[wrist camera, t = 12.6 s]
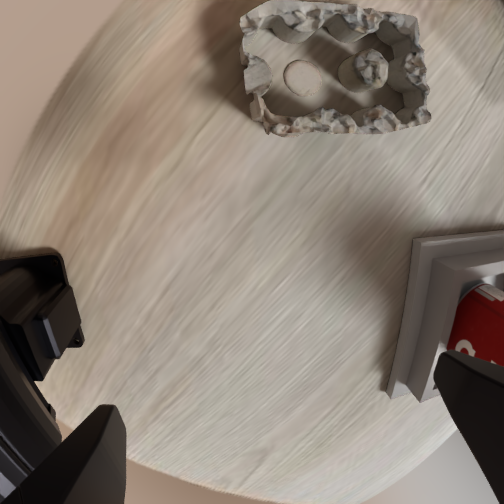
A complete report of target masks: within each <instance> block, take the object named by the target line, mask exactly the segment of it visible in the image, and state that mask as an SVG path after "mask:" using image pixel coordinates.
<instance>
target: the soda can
mask: <svg viewBox="0 0 504 504" xmlns="http://www.w3.org/2000/svg"><path fill="white" fill-rule="evenodd" d="M446 350H456V351H459V352H462V353H464V354H467V355H470V356H473V357H476V358H479V359H482V360H485V361H488V362H491V363H494V364H497V365H500V366H503V367H504V292H503V291H501V290H499V289H497V288H496V287H494V286H492V285H490V284H488V283H480V284H477V285H475V286H473V287H472V288H471V289H469V290H468V291H467V292H466V293H465V294H464V295H463V296H462V297H461V298H460V300H459V301H458V305H457V309H456V314H455V318H454V322H453V326H452V330H451V333H450V337H449V341H448V344H447V348H446Z"/></svg>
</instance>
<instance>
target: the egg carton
mask: <svg viewBox="0 0 504 504" xmlns="http://www.w3.org/2000/svg"><path fill="white" fill-rule="evenodd" d="M239 23H240V27H241V29H242V32H243V33H244V37H243V39H242V40H243V41H242V43H241V46H240V48H239V53H240V62H241V64H242V65H247V66H248V67H247V69H245V70H244V80H245V89H246V94H247V95H248V94H249V93H252V94H253V95H254V100H253V101H252V102H251V103H250V111H251V117H252V120H253V121H259V122H263V124H264V129H265V132H266V134H268V135H269V134H270V133H271V132H272V133H274V134H276V135H278V136H281V137H295V136H299V134H302V133H303V132H329V133H328V134H337V133H359V134H383V133H388V132H392V131H397V130H401V129H405V128H409V127H414V126H417V125H421V124H425V123H428V122H430V120H431V114H430V112H428V110H427V106H426V99H427V95H428V94H429V93H430V88H429V86H428V85H427V83H426V70H427V69H426V67H425V63H424V50H423V49H422V48H421V46H420V45H419V26H418V20H417V18H416V17H414V16H410V15H405V14H399V13H393V12H380V11H375V10H374V9H372V8H368V9H362V8H360V7H359V6H358V5H355V4H334V3H327V2H306V1H298V0H270V1H267V2H265V3H262V4H261V5H259V6H258V7H256V8H254V9H253V10H251V11H250V12H248V13H246V14H245V15H243V16H242V17H240V22H239ZM321 26H324V27H327V29H328V31H329V32H330V34H331V35H332V36H333V37H334V38H335V39H337V40H338V41H340V42H344V43H353V42H355V41H357V40H358V39H360V38H362V37H364V36H365V35H367V34H368V33H373V32H375V33H376V35H377V37H378V38H379V39H380V40H381V41H382V42H384V43H385V44H387V45H389V46H391V47H392V49H393V54H394V58H393V60H392V61H390V62H389V63H388V62H387V61H386V60H385V58H384V57H383V56H382V54H381V53H380V52H378V51H376V50H374V49H372V48H368V49H366V50H363V51H360V52H358V53H356V54H354V55H353V56H351V57H349V58H347V59H346V60H344V61H343V62H342V63H341V65H340V66H339V68H338V77H339V80H340V82H341V84H342V85H343V86H344V87H345V88H346V89H348V90H349V91H351V92H354V93H362V92H365V91H369V90H373V89H377V88H380V87H382V86H383V85H384V83H385V82H386V81H387V83H388V84H389V86H390V87H391V88H392V89H394V90H395V91H397V92H400V93H402V94H403V99H404V105H405V107H404V108H402V109H400V110H399V111H397V113H396V114H395V115H394V113H393V112H392V111H390V110H388V109H386V108H384V107H383V106H382V105H375V106H373V107H370V108H365V109H361V110H358V111H356V112H354V113H353V114H352V115H351V116H349V115H348V114H346V115H343V114H340V113H339V112H338V111H337V110H335V109H333V108H331V109H327V110H325V109H324V108H323V107H321V108H319V109H317V110H316V111H314V112H313V113H310V114H308V115H305V116H303V117H297V116H281V115H276V114H273V113H271V112H270V111H269V110H268V108H267V107H266V105H265V103H264V100H263V99H262V98H261V97H262V96H263V95H264V94H265V93H266V92H267V91H268V89H269V88H270V86H271V84H272V79H273V74H272V70H271V68H270V67H269V66H268V64H267V63H266V62H265V61H264V60H263V59H261V58H259V57H257V56H253V55H251V54H249V53H247V52H246V51H245V47H247V46H248V45H249V44H251V43H252V41H253V40H254V38H255V36H256V34H257V31H258V29H262V28H272V29H273V31H274V33H275V35H276V36H277V37H278V38H279V39H281V40H282V41H284V42H287V43H291V44H298V43H301V42H304V41H305V40H306V39H307V38H309V37H310V36H311V35H312V34H313V33H314V32H315V31H316V30H318V29H319V28H320V27H321ZM284 81H285V83H286V85H287V86H288V88H289V89H290V90H291V91H292V92H293V93H295V94H297V95H300V96H308V95H312V94H315V93H316V92H317V91H318V90H319V88H320V87H321V83H322V76H321V74H320V71H319V70H318V69H317V67H316V66H315V65H313V64H312V63H310V62H306V61H301V60H298V61H294V62H292V63H291V64H290V65H289V66H288V67H287V68H286V70H285V72H284Z"/></svg>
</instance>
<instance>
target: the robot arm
mask: <svg viewBox="0 0 504 504" xmlns="http://www.w3.org/2000/svg"><path fill="white" fill-rule="evenodd" d="M53 259H56V260H57V262H58V265H57V264H55V263H54V261H53ZM80 324H81V319H80V315H79V312H78V308H77V305H76V301H75V297H74V293H73V289H72V287H71V286H70V285H69V282H68V278H67V274H66V270H65V265H64V261H63V258H62V256H61V255H60V254H59V253H48V254H39V255H30V256H22V257H13V258H5V259H0V504H124V498H125V489H126V427H125V424H124V422H123V420H122V418H121V415H120V413H119V411H118V408H117V407H116V406H115V405H109V404H102V405H99V406H98V407H97V408H96V409H95V410H94V411H93V412H92V413H91V414H90V415H89V416H88V417H87V418H86V419H85V420H84V421H83V422H82V423H81V424H80V425H79V426H78V427H77V428H76V429H75V430H74V431H73V432H72V433H71V434H70V435H69V436H68V437H67V438H66V439H65V440H64V441H63V442H62V443H61V441H62V435H61V433H60V430H59V427H58V425H57V423H56V422H55V421H56V412H55V410H54V409H53V407H52V406H51V404H48V403H47V401H46V400H45V398H44V397H43V395H42V393H41V392H40V390H39V389H38V387H37V386H36V384H35V382H34V381H43V380H44V378H45V376H46V374H47V373H48V371H49V369H50V367H51V365H52V364H53V362H54V360H55V359H60V358H61V356H62V354H63V352H64V351H65V349H66V348H79V347H81V346H82V345H83V343H84V341H85V339H84V335H83V332H82V329H81V326H80ZM75 338H77V339H78V340H79V341H77V340H75ZM433 379H434V382H435V384H436V386H437V388H438V390H439V392H440V394H441V397H442V399H443V401H444V403H445V405H446V407H447V409H448V411H449V413H450V415H451V417H452V419H453V421H454V423H455V424H456V426H457V428H458V429H459V431H460V433H461V434H462V436H463V438H464V439H465V441H466V443H467V445H468V446H469V448H470V450H471V452H472V453H473V455H474V457H475V459H476V460H477V462H478V464H479V466H480V468H481V469H482V471H483V473H484V475H485V477H486V479H487V480H488V482H489V484H490V486H491V488H492V490H493V492H494V494H495V496H496V498H497V500H498V502H499V504H504V367H503V366H500V365H497V364H494V363H491V362H488V361H485V360H482V359H479V358H476V357H473V356H470V355H467V354H464V353H462V352H459V351H456V350H447V351H445V352H442V353H441V354H440V355H439V357H438V360H437V364H436V367H435V370H434V373H433Z"/></svg>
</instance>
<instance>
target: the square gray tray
mask: <svg viewBox="0 0 504 504" xmlns="http://www.w3.org/2000/svg"><path fill="white" fill-rule="evenodd" d="M480 283H488V284H490V285H492V286H494V287H496V288H497V289H499V290H501V291H503V292H504V230H498V231H487V232H476V233H466V234H455V235H445V236H434V237H423V238H413V245H412V255H411V264H410V272H409V280H408V287H407V294H406V300H405V306H404V312H403V318H402V323H401V329H400V334H399V339H398V344H397V348H396V353H395V357H394V362H393V366H392V370H391V374H390V378H389V382H388V386H387V390H386V393H387V395H388V396H389V397H390V399H393V398H396V397H399V396H402V395H405V394H408V393H411V392H412V394H413V395H414V396H415V397H416V399H417V400H418V401H419V402H420V403H421V402H423V401H426V400H428V399H431V398H433V397H436V396H438V395H441V394H440V392H439V390H438V388H437V386H436V384H435V382H434V379H433V373H434V370H435V367H436V364H437V360H438V357H439V355H440V354H441V353H442V352H445V351H447V350H446V348H447V344H448V341H449V337H450V333H451V330H452V326H453V322H454V318H455V314H456V309H457V305H458V301H459V300H460V298H461V297H462V296H463V295H464V294H465V293H466V292H467V291H468V290H469V289H471V288H472V287H473V286H475V285H477V284H480Z"/></svg>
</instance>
